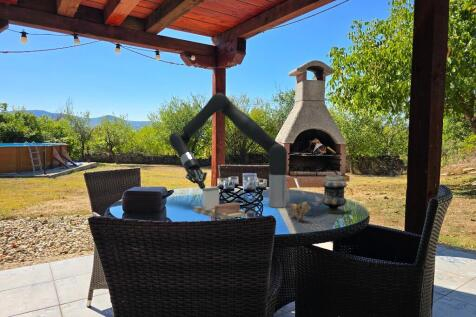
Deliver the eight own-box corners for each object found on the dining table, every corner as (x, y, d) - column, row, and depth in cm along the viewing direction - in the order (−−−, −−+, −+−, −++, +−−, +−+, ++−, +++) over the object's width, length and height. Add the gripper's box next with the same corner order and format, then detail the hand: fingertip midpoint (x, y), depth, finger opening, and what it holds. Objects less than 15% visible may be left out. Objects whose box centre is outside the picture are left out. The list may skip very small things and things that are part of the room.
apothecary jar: (350, 213, 165) (351, 177, 164) (327, 215, 162) (328, 177, 161) (338, 208, 177) (339, 174, 175) (317, 209, 174) (317, 174, 173)
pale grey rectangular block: (202, 208, 166) (202, 188, 166) (215, 206, 172) (215, 187, 171) (206, 209, 164) (206, 189, 164) (219, 207, 170) (219, 187, 169)
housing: (193, 211, 169) (193, 200, 168) (212, 208, 177) (212, 197, 176) (225, 220, 151) (225, 207, 151) (244, 216, 159) (244, 204, 159)
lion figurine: (312, 222, 148) (312, 202, 147) (302, 223, 145) (302, 203, 145) (292, 215, 161) (292, 196, 160) (282, 216, 158) (283, 197, 158)
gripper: (182, 158, 174) (195, 184, 165) (202, 157, 183) (216, 182, 174) (176, 167, 178) (189, 194, 170) (197, 166, 187) (210, 191, 178)
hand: (203, 188), depth 172 cm, fingers closed
